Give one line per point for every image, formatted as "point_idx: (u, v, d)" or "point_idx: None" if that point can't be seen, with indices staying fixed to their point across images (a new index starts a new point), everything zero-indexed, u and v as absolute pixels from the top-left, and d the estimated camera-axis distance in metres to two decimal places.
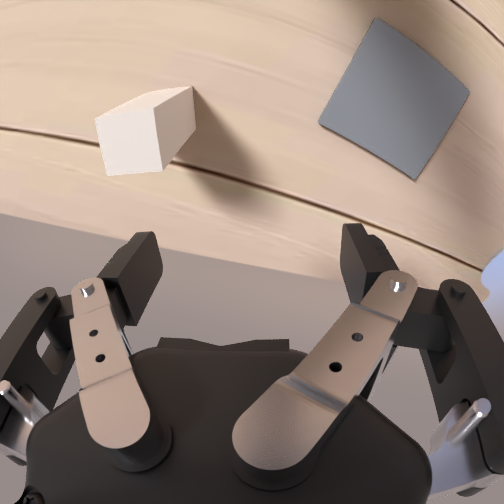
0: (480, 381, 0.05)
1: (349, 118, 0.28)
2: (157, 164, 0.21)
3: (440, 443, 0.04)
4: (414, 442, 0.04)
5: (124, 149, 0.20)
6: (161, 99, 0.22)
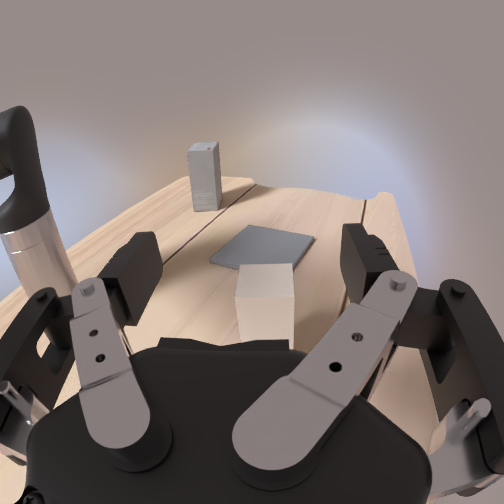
0: (480, 381, 0.05)
1: None
2: (286, 265, 0.29)
3: (439, 443, 0.04)
4: (414, 442, 0.04)
5: (269, 281, 0.27)
6: None
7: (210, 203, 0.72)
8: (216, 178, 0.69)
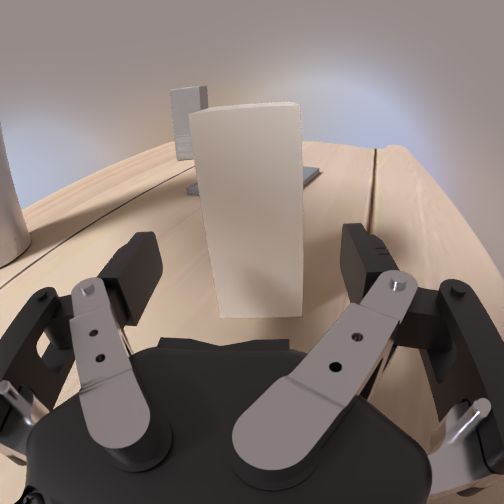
0: (480, 381, 0.05)
1: None
2: None
3: (440, 443, 0.04)
4: (414, 442, 0.04)
5: (255, 105, 0.14)
6: None
7: None
8: None
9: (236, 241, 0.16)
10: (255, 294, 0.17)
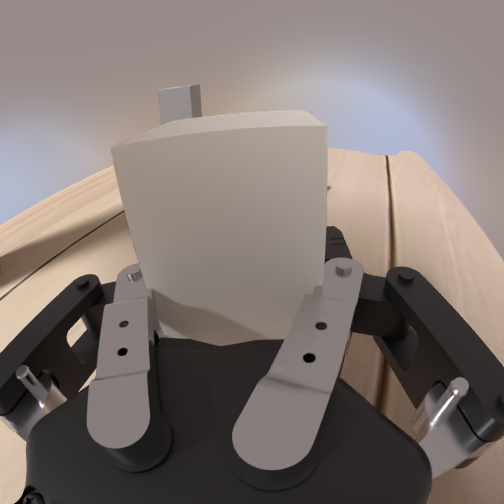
0: (450, 361, 0.05)
1: None
2: (288, 111, 0.10)
3: (424, 428, 0.05)
4: (414, 442, 0.04)
5: (240, 119, 0.08)
6: None
7: None
8: None
9: None
10: None
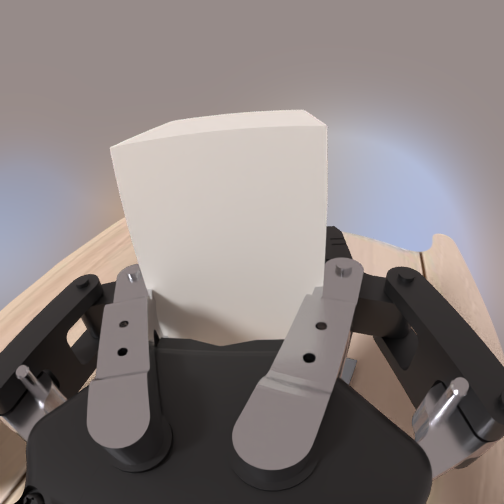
0: (450, 362, 0.05)
1: None
2: (288, 111, 0.10)
3: (425, 428, 0.05)
4: (414, 442, 0.04)
5: (239, 119, 0.08)
6: None
7: None
8: None
9: None
10: None
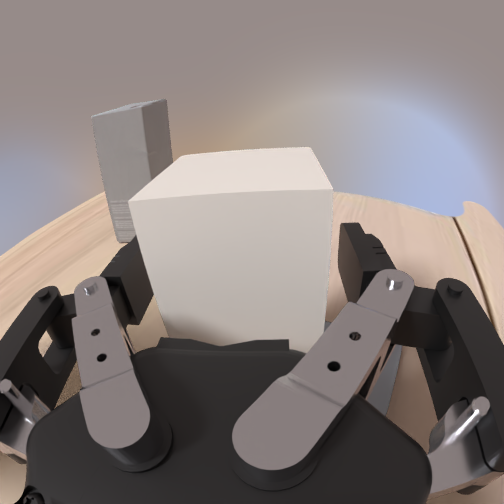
0: (478, 380, 0.05)
1: None
2: (295, 149, 0.11)
3: (439, 442, 0.04)
4: (414, 442, 0.04)
5: (249, 167, 0.09)
6: None
7: None
8: (154, 172, 0.30)
9: None
10: None
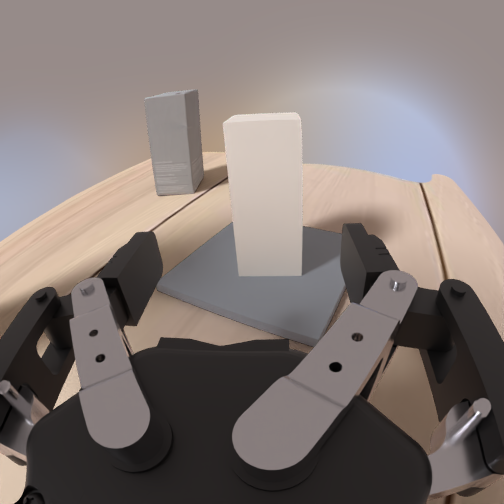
0: (480, 381, 0.05)
1: (303, 305, 0.21)
2: (289, 113, 0.22)
3: (440, 443, 0.04)
4: (414, 442, 0.04)
5: (269, 116, 0.20)
6: None
7: (181, 182, 0.43)
8: (191, 141, 0.41)
9: (254, 215, 0.21)
10: (266, 256, 0.23)
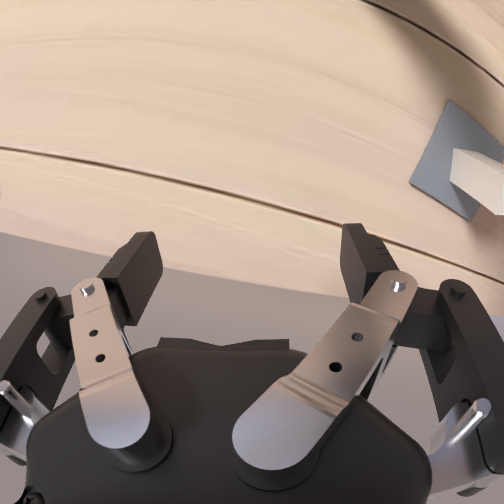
0: (480, 381, 0.05)
1: (430, 179, 0.36)
2: None
3: (440, 443, 0.04)
4: (414, 442, 0.04)
5: None
6: None
7: None
8: None
9: (471, 169, 0.30)
10: (458, 166, 0.33)
